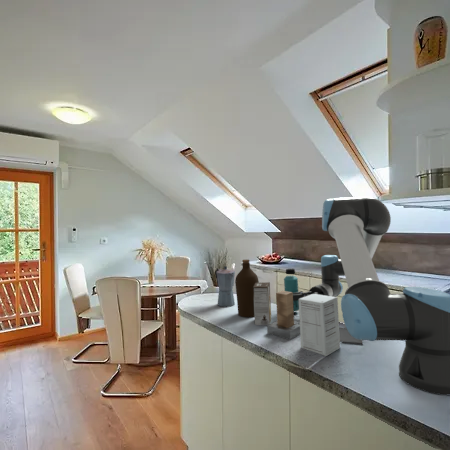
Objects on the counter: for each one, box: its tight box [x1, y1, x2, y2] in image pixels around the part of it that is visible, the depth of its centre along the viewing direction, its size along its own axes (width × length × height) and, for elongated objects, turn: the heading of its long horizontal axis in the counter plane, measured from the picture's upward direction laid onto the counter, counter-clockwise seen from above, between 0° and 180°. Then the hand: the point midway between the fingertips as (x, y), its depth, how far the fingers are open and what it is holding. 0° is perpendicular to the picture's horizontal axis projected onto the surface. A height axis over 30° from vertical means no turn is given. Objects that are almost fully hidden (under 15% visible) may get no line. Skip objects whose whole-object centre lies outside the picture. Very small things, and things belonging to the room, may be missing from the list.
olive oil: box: [234, 259, 260, 318], centre depth 145 cm, size 11×11×25 cm
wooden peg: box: [275, 290, 295, 328], centre depth 119 cm, size 4×4×15 cm
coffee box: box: [253, 281, 272, 326], centre depth 133 cm, size 9×6×16 cm
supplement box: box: [298, 294, 341, 357], centre depth 104 cm, size 10×9×17 cm
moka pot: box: [214, 265, 236, 307], centre depth 164 cm, size 10×15×20 cm, turn 42°
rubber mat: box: [339, 326, 363, 345], centre depth 114 cm, size 14×12×1 cm
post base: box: [266, 320, 300, 341], centre depth 119 cm, size 10×10×4 cm
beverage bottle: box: [283, 268, 299, 312], centre depth 145 cm, size 6×7×20 cm
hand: (294, 304), depth 124 cm, fingers open, 13 cm apart
